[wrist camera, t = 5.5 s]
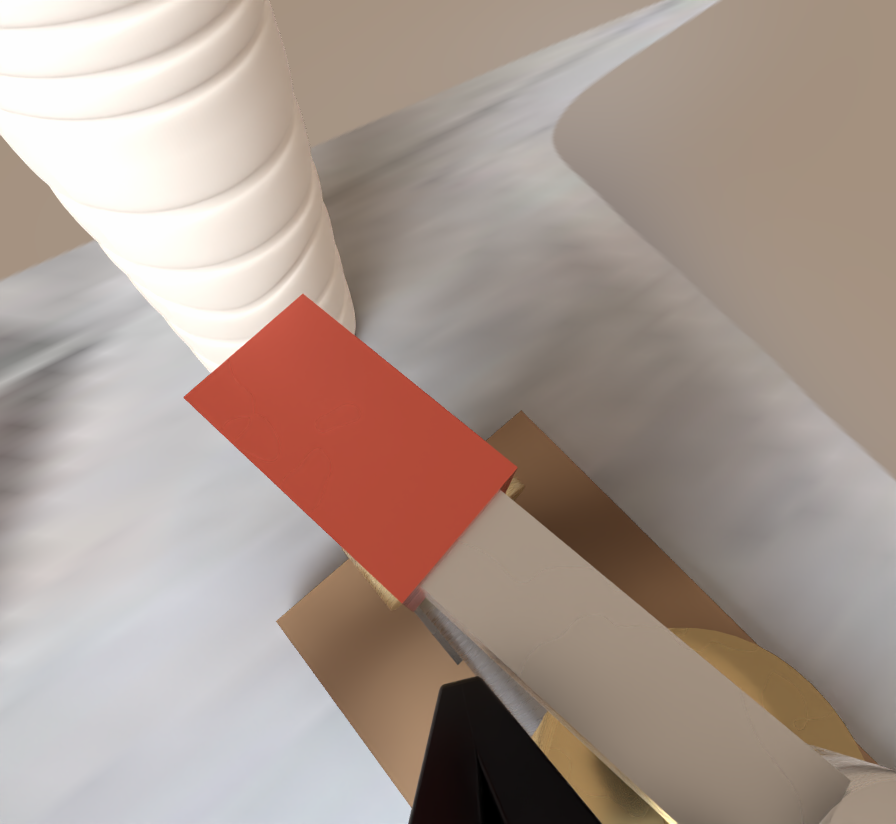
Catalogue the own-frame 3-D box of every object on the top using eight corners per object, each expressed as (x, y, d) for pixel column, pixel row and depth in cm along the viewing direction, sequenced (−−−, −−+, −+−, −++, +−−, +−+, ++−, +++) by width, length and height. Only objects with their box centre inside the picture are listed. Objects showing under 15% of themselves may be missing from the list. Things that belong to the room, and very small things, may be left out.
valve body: (941, 940, 15) (1597, 1343, 6) (803, 1170, 13) (1445, 2119, 5) (485, 459, 20) (519, 331, 11) (342, 583, 18) (258, 541, 10)
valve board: (1066, 977, 16) (1126, 1011, 14) (851, 1390, 13) (901, 1482, 11) (516, 424, 22) (521, 410, 20) (288, 622, 19) (276, 621, 18)
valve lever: (941, 847, 8) (1205, 961, 5) (846, 1074, 7) (1103, 1355, 4) (356, 363, 11) (327, 272, 8) (232, 481, 10) (152, 423, 7)
